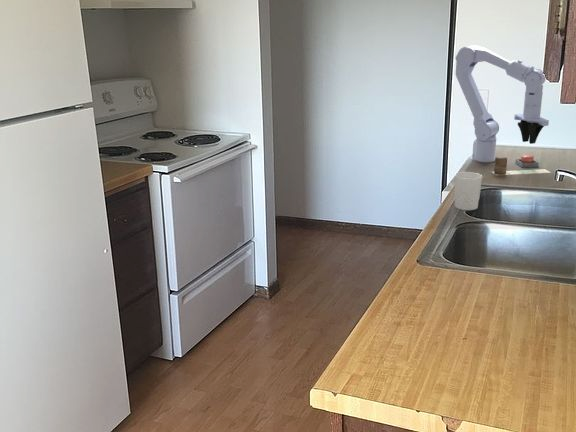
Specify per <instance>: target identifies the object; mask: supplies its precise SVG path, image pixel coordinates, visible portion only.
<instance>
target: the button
mask: <svg viewBox="0 0 576 432" xmlns="http://www.w3.org/2000/svg"><path fill="white" fill-rule="evenodd" d="M520 159H521V162H522V163H533V161H534V160H535V157H534V155H530V154H524V155H523V154H522V155H520Z"/></svg>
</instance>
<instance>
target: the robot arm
mask: <svg viewBox="0 0 576 432" xmlns="http://www.w3.org/2000/svg"><path fill="white" fill-rule="evenodd" d="M455 61H456V62H455V77H456V79H457V81H458V84H459V86H460V89H461V91H462V93H463V95H464V98H465V100H466V102H467V104H468V107H469V109H470V111H471V112H470V113H471V115H472V116H473V126H474V135H475V139H474V141H473V143H472V155H471V156H472V157H469V159H470V160H472V161H473V160H474V161H475V162H479V163H493V162H495V157H496V150H497V137H496V136H497V134H498V133H499V131H500V126H499V123H498V122H497V121H496V120H495V119H494V117H493V115H492V114H490V112H489V111H488V110H487V106H486V105H485V103H484V100H483V98H482V96H481V95H482V94H481V93H480V91H479V88H478V86H477V84H476V82H475V79H474V77H473V74H472V73H473V71H474V68H475V66H476V65H477V64H478V63H481V62H482V63H483V62H485V63H489V64H491V65H493V66H496V67H497V68H499V69H502V70H505V73H506V75H507V76H509V77H511V78H512V79H515V80H517V81H519V82H521V83H524V85H525V91H524V102H523V103H524V104H523V110H522V111H523V114H521V113H516V114H514V120H516V121H520V122H517V126H518V128H519V130H520V134H521V135H520V136H521V139H522V142H523V143H526V142H529V144H531V145H532V144H536V142H537V140H538V137H539V135H540V133H541V131H542V129H543V128H544V127H547V126H548V127H549V123H550V119H545V118H543V117H542V116H541V113H542V103H543V102H542V101H543V89H544V83H545V82H546V79H547V78H546V79H545V77H544V75H543V72H544V71H543V70H542V69H540V68H536V69H535V67H534V66H529V65H527V64H524V63H523V60H521V59H518V60H516V59H514V60H512V61H511V60H508V59H506V58H505V57H502V56H500V55H499V54H497V53H495V52H493V51H491V50H489V49H487V48H486V47H483V46H480V45H477V44H472V45H470V46H463V47H462V48H460V49H459V50H458V52H457V53H456V56H455Z"/></svg>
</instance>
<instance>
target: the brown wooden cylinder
mask: <svg viewBox="0 0 576 432" xmlns="http://www.w3.org/2000/svg"><path fill="white" fill-rule="evenodd" d="M507 167H508V157H506V156H495V161H494V167H493V168H494V169H493V172H494V173H495V174H498V175H497V176H505V175H504V174H506V173H507V172H506V171H507ZM495 174H494V175H495Z"/></svg>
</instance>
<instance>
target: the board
mask: <svg viewBox="0 0 576 432" xmlns="http://www.w3.org/2000/svg"><path fill="white" fill-rule="evenodd" d="M491 173H492V174H493V175H495V176H499V175H498V174H495V173H494V171H491ZM551 173H552V172H551V171H549V170H548V169H546V168H544V169H542V168H541V169H523V170H522V169H520V170H519V169H518V170H506V174H504V175H503V176H509V175H511V176H512V175H513V176H514V175H529V174H530V175H531V174H532V175H533V174H551Z"/></svg>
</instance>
